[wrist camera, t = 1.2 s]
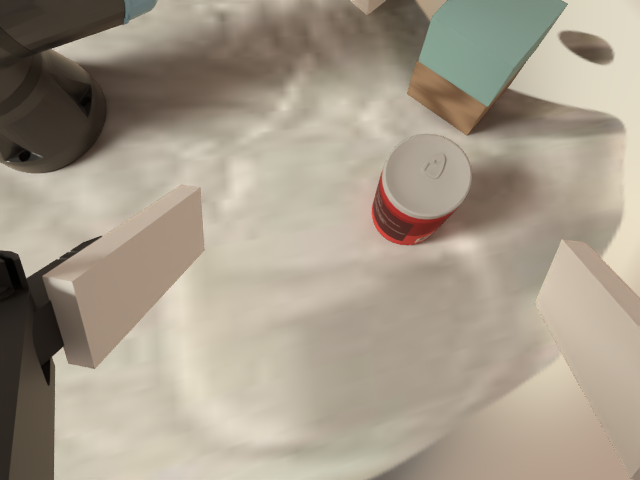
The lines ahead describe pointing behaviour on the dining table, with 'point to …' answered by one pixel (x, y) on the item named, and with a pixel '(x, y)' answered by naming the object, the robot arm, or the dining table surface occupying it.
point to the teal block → (486, 41)
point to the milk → (367, 5)
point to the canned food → (420, 188)
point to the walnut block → (448, 98)
